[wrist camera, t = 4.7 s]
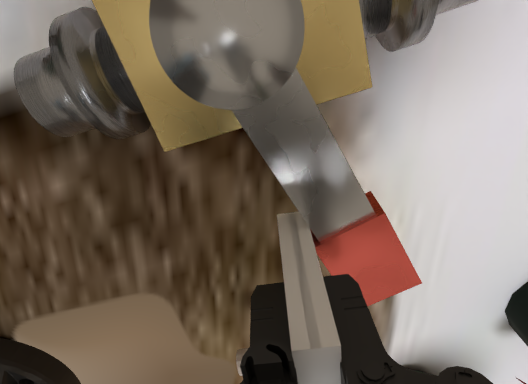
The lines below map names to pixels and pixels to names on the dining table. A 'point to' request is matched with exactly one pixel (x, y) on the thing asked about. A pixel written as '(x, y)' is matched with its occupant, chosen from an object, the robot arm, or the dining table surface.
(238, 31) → the lever
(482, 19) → the dining table surface
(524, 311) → the wine bottle
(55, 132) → the pipe
